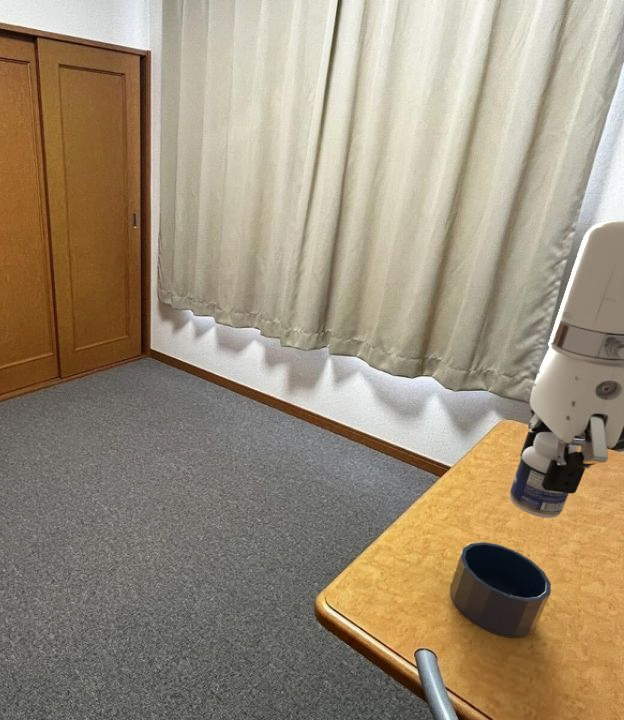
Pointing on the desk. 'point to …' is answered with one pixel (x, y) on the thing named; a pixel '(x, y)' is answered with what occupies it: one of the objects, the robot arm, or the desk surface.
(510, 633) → the bowl
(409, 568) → the desk surface
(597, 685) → the desk surface
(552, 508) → the pill bottle
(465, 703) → the desk surface
